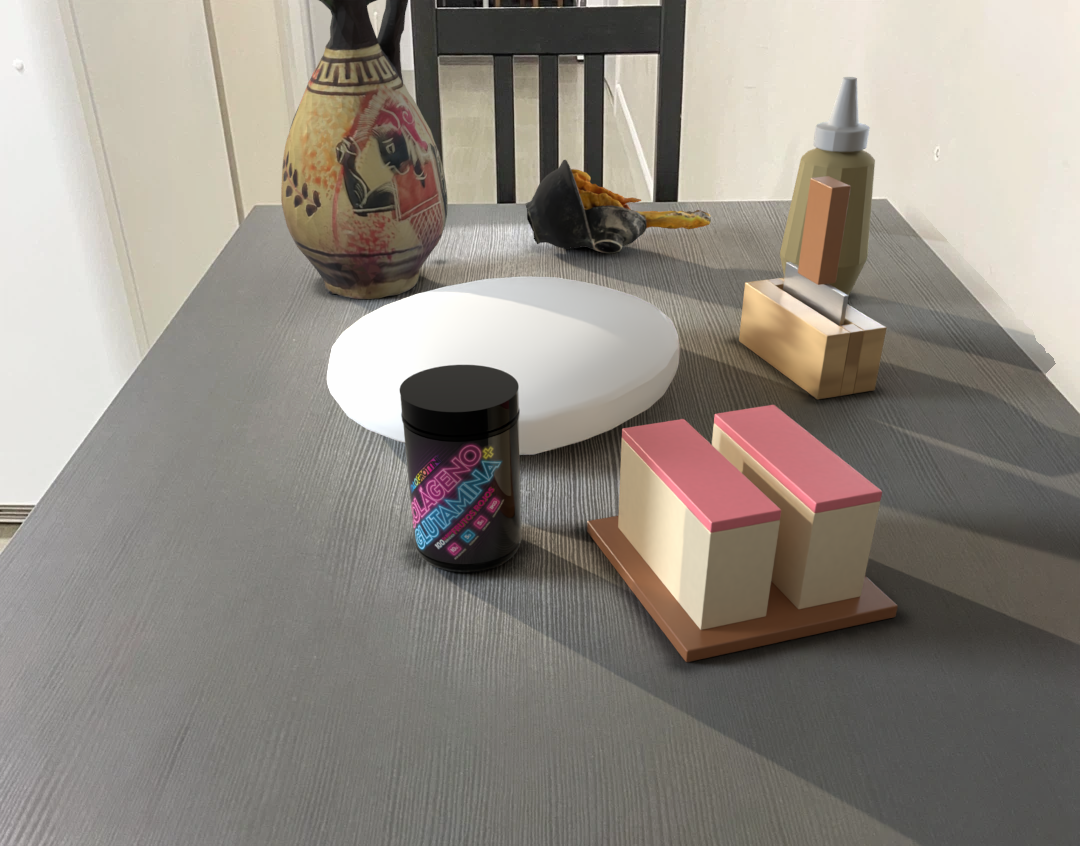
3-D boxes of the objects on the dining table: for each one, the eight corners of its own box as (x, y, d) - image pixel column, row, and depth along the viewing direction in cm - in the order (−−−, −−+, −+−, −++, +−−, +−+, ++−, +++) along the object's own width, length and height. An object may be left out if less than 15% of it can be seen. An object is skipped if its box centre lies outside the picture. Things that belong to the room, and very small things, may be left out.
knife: (769, 347, 94) (791, 169, 85) (785, 344, 94) (809, 167, 85) (822, 386, 87) (853, 197, 78) (840, 383, 87) (872, 195, 78)
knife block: (738, 341, 95) (744, 282, 92) (791, 333, 96) (799, 275, 93) (817, 399, 85) (827, 336, 82) (875, 390, 86) (887, 327, 83)
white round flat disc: (561, 441, 68) (245, 364, 79) (566, 527, 73) (266, 443, 84) (739, 271, 85) (457, 226, 96) (734, 350, 90) (466, 299, 100)
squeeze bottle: (811, 275, 108) (841, 66, 97) (878, 295, 103) (918, 78, 92) (757, 292, 104) (781, 77, 93) (823, 314, 100) (858, 90, 88)
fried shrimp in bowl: (515, 188, 117) (674, 123, 115) (550, 291, 120) (706, 229, 118) (511, 173, 109) (683, 102, 106) (549, 284, 112) (717, 218, 109)
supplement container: (393, 544, 68) (376, 383, 62) (480, 511, 71) (473, 355, 65) (454, 590, 64) (443, 422, 58) (544, 553, 67) (543, 390, 61)
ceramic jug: (348, 324, 99) (299, -86, 80) (267, 282, 108) (205, -94, 89) (497, 284, 107) (484, -96, 88) (409, 248, 116) (381, -102, 97)
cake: (586, 531, 69) (588, 421, 65) (769, 498, 72) (783, 391, 68) (686, 663, 58) (697, 542, 54) (896, 617, 62) (924, 499, 57)
